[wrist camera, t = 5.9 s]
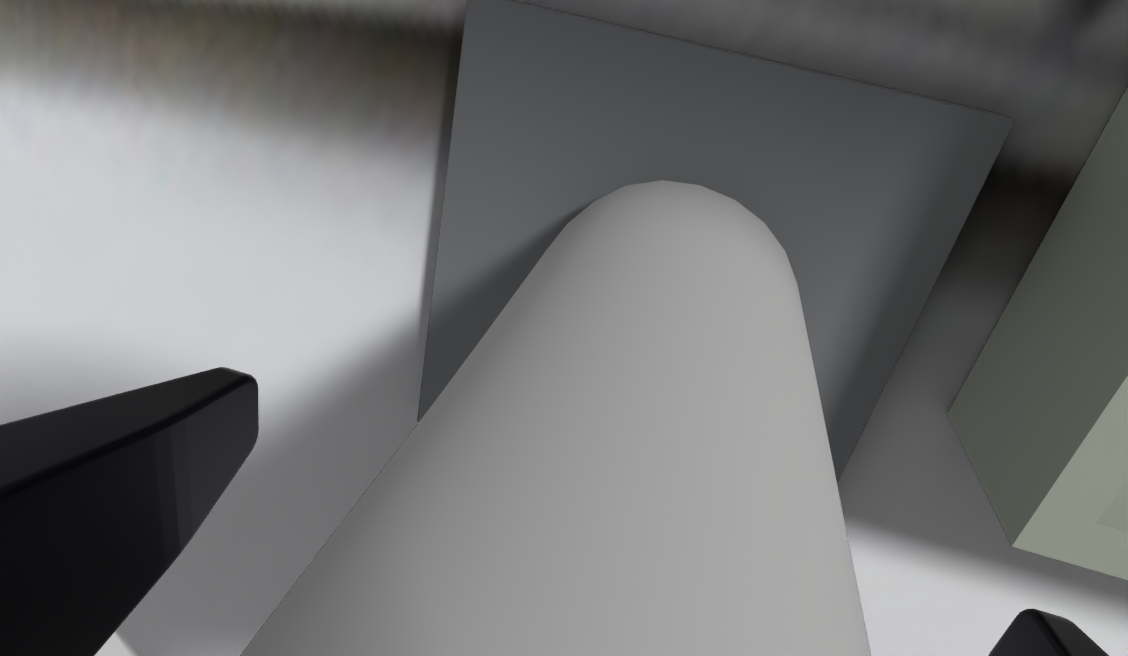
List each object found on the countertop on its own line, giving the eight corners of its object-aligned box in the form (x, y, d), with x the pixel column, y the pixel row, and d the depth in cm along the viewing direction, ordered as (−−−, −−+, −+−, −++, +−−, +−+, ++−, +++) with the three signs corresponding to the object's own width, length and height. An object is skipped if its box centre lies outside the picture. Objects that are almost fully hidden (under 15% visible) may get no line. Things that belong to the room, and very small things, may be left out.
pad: (807, 522, 16) (810, 538, 15) (425, 409, 17) (417, 421, 16) (1003, 114, 11) (1014, 120, 11) (477, -9, 12) (468, -8, 12)
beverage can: (817, 386, 14) (1092, 1766, 3) (582, 422, 15) (223, 1421, 5) (768, 139, 12) (1002, 1319, 1) (508, 208, 13) (-331, 1015, 3)
